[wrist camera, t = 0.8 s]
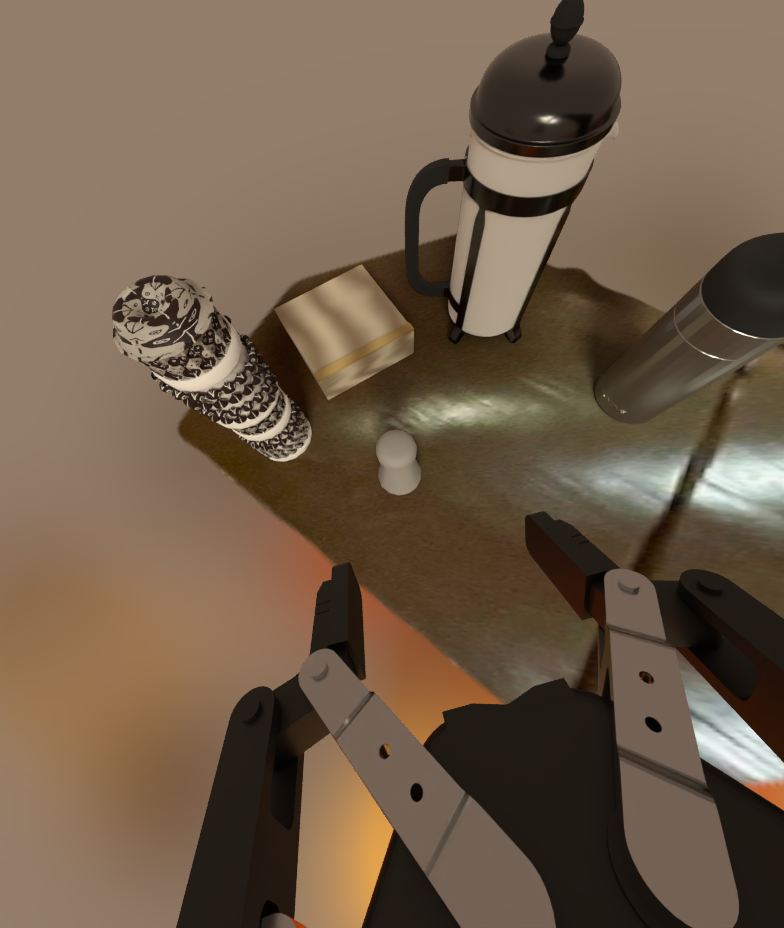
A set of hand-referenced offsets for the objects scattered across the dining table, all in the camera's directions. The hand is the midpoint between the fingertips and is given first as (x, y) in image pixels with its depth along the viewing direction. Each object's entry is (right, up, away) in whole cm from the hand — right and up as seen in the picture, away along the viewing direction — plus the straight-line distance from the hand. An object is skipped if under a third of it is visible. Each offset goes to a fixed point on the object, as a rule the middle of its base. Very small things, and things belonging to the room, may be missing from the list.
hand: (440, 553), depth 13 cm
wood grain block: (-10, +25, +37) cm, 45 cm away
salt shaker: (-1, +2, +29) cm, 29 cm away
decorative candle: (-19, +8, +33) cm, 38 cm away
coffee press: (+12, +28, +37) cm, 48 cm away
